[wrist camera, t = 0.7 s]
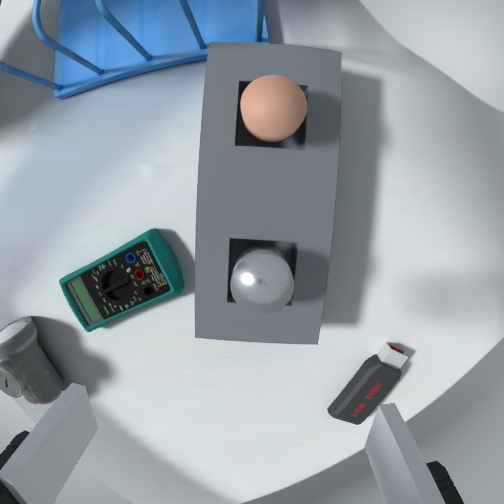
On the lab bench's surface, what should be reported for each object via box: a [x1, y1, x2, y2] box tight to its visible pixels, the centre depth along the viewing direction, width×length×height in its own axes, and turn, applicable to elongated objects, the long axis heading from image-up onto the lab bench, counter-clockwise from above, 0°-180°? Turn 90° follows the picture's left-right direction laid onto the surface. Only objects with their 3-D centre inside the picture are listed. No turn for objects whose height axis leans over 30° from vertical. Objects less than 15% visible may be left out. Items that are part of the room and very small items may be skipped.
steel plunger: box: [230, 245, 294, 315], centre depth 27 cm, size 5×5×4 cm
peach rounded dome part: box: [241, 75, 307, 143], centre depth 24 cm, size 5×5×4 cm
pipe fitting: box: [0, 316, 64, 404], centre depth 32 cm, size 12×8×10 cm
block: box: [195, 42, 341, 344], centre depth 29 cm, size 28×12×5 cm, turn 177°
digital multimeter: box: [59, 229, 184, 332], centre depth 33 cm, size 7×15×3 cm, turn 114°
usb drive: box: [327, 343, 408, 425], centre depth 36 cm, size 5×12×3 cm, turn 152°
